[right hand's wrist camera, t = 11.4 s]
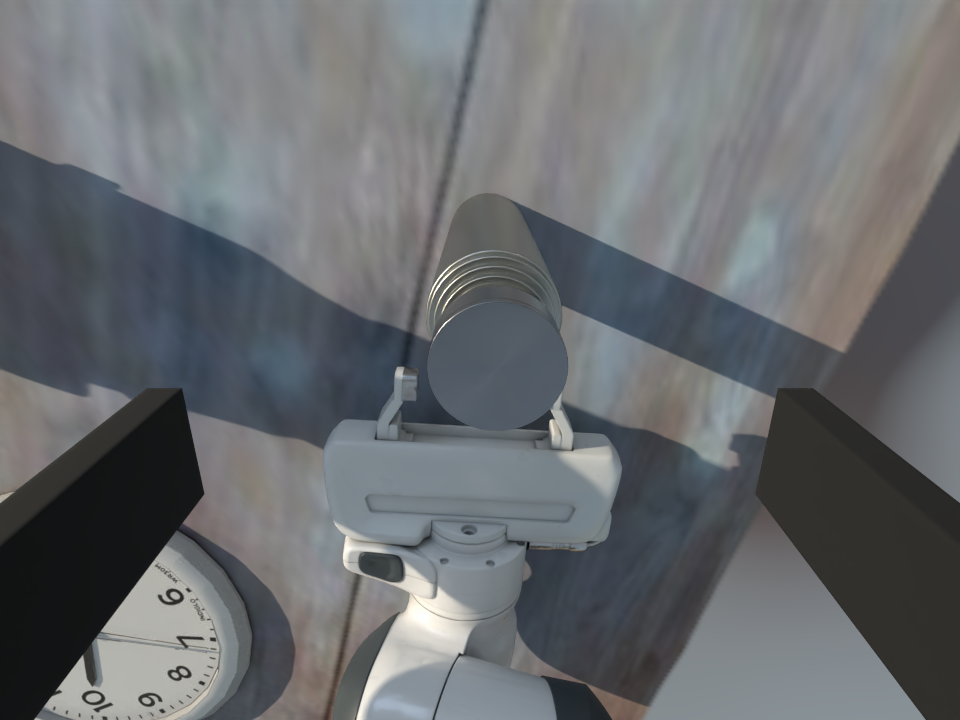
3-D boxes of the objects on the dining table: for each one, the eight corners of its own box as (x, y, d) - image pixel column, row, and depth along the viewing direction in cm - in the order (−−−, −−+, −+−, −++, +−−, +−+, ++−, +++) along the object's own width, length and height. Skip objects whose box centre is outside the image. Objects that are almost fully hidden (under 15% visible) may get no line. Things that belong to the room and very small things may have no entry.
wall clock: (307, 695, 55) (60, 781, 60) (312, 680, 56) (70, 765, 61) (104, 448, 45) (-175, 576, 50) (117, 437, 46) (-155, 562, 51)
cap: (427, 399, 20) (422, 425, 18) (435, 278, 18) (431, 294, 17) (550, 410, 20) (557, 437, 18) (570, 291, 19) (578, 308, 17)
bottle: (447, 266, 41) (408, 431, 19) (453, 189, 39) (417, 273, 17) (521, 273, 41) (568, 445, 19) (530, 197, 39) (595, 290, 17)
